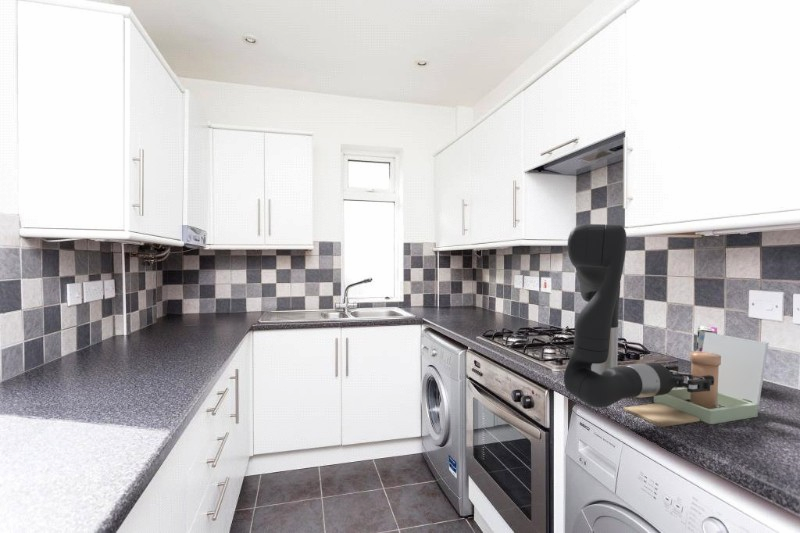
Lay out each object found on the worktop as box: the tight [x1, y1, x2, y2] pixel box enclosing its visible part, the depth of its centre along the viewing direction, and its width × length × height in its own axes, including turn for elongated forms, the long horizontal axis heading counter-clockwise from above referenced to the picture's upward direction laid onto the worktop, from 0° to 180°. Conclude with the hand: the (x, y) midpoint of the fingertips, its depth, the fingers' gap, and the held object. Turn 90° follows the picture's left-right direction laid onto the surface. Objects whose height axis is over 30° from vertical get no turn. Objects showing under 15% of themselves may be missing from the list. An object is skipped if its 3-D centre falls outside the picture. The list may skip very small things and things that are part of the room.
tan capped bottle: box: [689, 350, 721, 409], centre depth 97 cm, size 6×6×14 cm
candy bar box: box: [696, 325, 718, 351], centre depth 121 cm, size 11×5×16 cm, turn 141°
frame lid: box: [702, 332, 769, 405], centre depth 100 cm, size 14×3×15 cm, turn 18°
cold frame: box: [653, 388, 759, 425], centre depth 97 cm, size 14×16×3 cm
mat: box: [623, 402, 701, 428], centre depth 93 cm, size 10×12×1 cm
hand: (693, 374), depth 96 cm, fingers open, 8 cm apart
